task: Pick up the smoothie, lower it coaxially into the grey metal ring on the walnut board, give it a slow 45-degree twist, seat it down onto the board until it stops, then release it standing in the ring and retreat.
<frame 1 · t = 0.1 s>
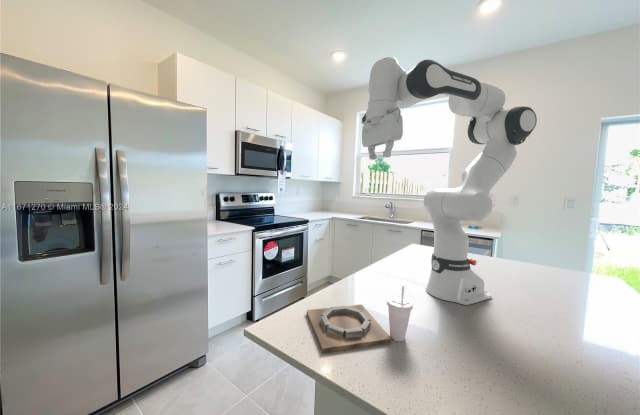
hand: (379, 158, 81), 48 cm above the counter, fingers open, 8 cm apart
socket: (345, 327, 70), on the counter
smoothie: (397, 337, 67), on the counter
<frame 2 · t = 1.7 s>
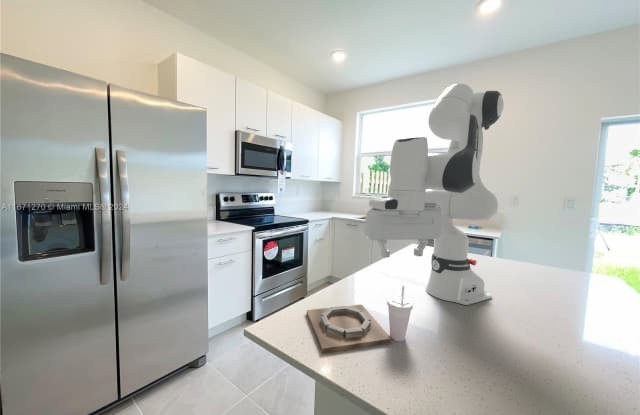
hand: (401, 256, 64), 22 cm above the counter, fingers open, 8 cm apart
nothing on the counter moved.
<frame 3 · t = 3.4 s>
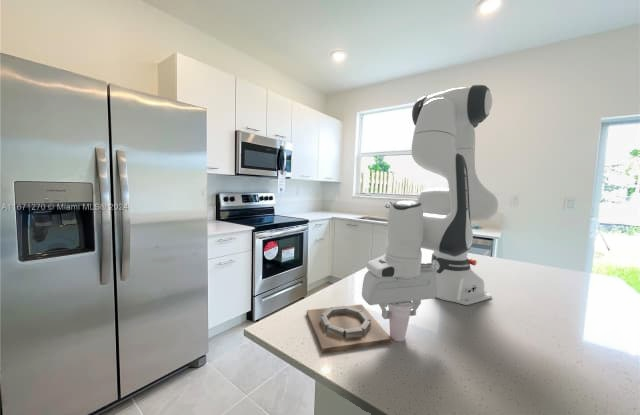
hand: (398, 316, 66), 6 cm above the counter, fingers closed on smoothie, 6 cm apart
smoothie: (397, 337, 67), on the counter, touching gripper
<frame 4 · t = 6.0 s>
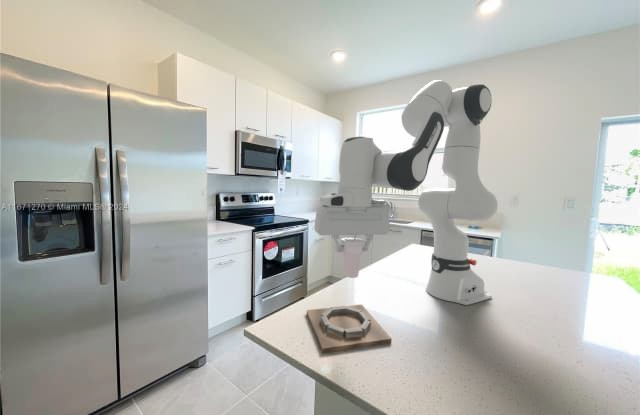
hand: (351, 251, 67), 22 cm above the counter, fingers closed on smoothie, 6 cm apart
smoothie: (351, 276, 68), point 15 cm above the counter, touching gripper
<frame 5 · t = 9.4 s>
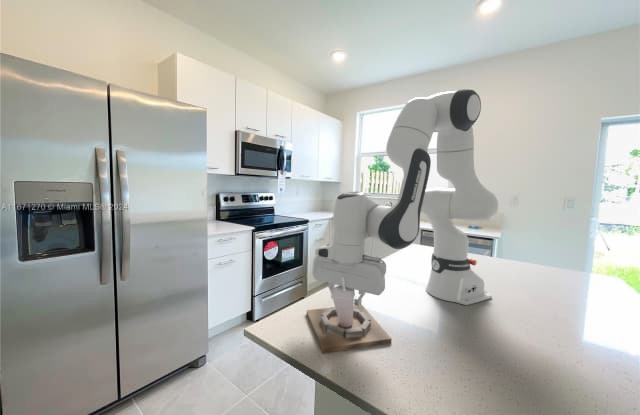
hand: (346, 301, 69), 7 cm above the counter, fingers closed on smoothie, 5 cm apart
smoothie: (346, 322, 70), point 1 cm above the counter, touching gripper, socket
when the fingers open (7 cm above the counter, at t = 10.3 s): smoothie stays where it is, resting on socket.
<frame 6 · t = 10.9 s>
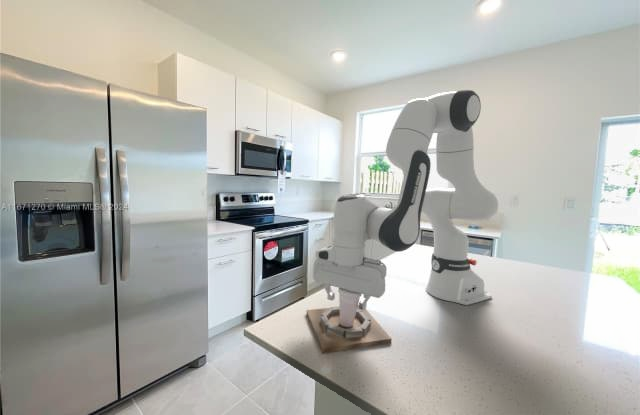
hand: (346, 303, 69), 7 cm above the counter, fingers open, 8 cm apart
smoothie: (346, 323, 70), point 1 cm above the counter, touching socket
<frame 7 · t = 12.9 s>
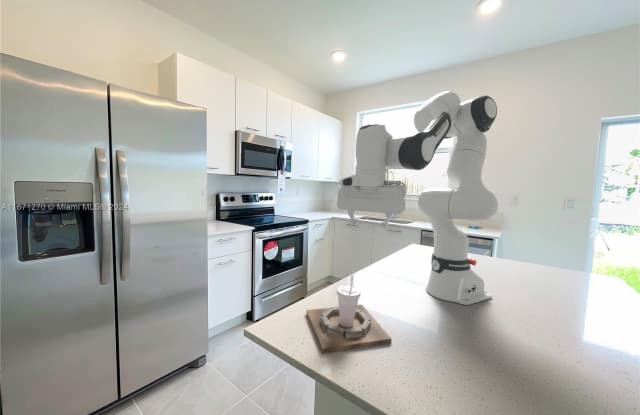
hand: (369, 226, 77), 27 cm above the counter, fingers open, 8 cm apart
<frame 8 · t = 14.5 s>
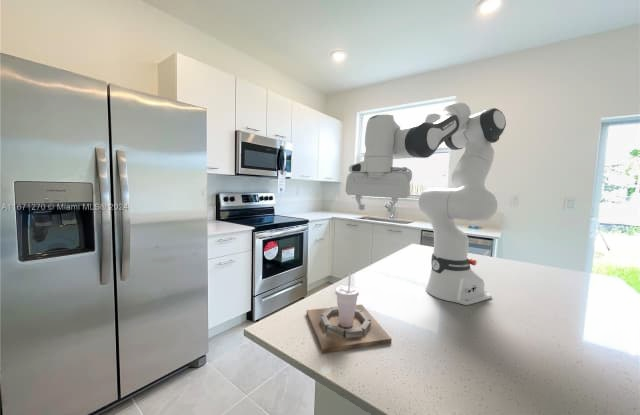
hand: (375, 211, 81), 31 cm above the counter, fingers open, 8 cm apart
nothing on the counter moved.
at the end: smoothie 0.3 cm off-centre on the socket, point 1.1 cm above the socket's base; smoothie tilted 2°; the gripper is holding nothing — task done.
